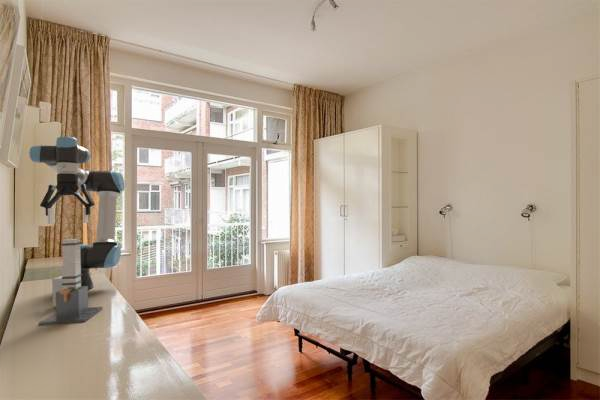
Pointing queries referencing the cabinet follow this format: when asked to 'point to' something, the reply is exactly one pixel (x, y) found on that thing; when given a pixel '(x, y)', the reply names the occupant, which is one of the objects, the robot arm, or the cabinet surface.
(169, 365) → the cabinet surface
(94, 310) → the stand base
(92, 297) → the cabinet surface
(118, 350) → the cabinet surface
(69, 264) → the column
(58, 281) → the supplement box
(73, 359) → the cabinet surface
